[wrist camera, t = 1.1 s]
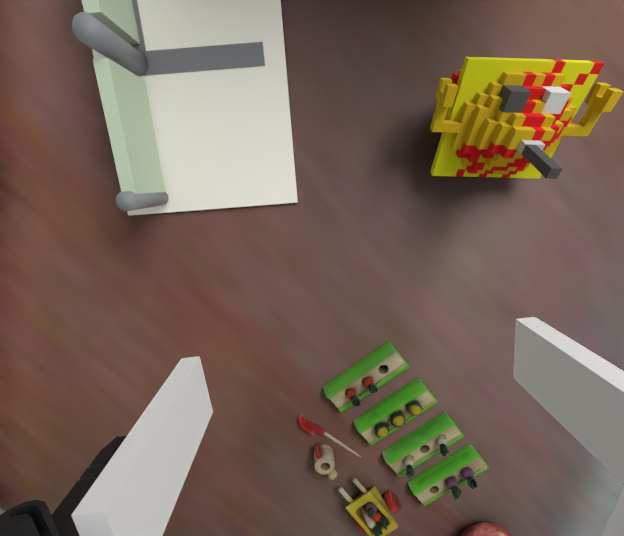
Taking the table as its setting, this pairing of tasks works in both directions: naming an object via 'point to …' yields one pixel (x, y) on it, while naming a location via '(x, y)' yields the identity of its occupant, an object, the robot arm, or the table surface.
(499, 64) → the toy
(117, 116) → the fence panel
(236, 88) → the card
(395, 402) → the toy garden set
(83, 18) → the fence fixed
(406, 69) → the table surface
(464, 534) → the fruit
